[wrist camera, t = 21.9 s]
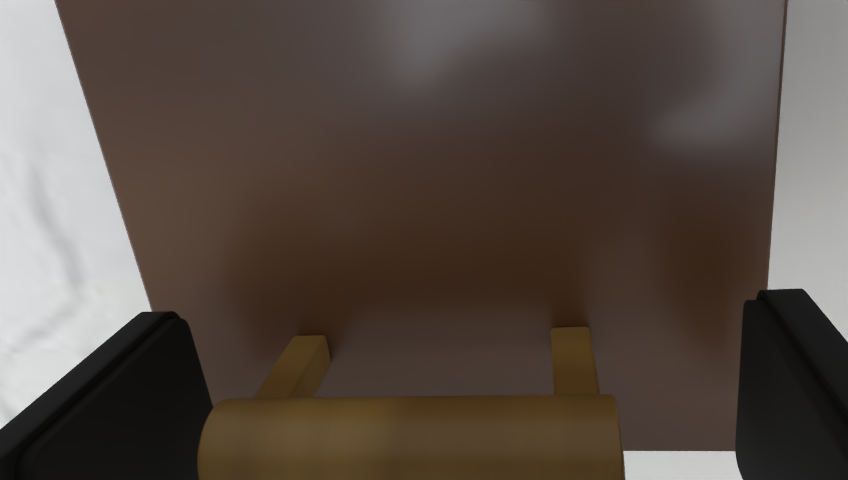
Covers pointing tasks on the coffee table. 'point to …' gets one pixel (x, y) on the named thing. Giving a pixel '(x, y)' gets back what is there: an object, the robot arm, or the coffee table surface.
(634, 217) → the lid
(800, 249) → the coffee table surface
